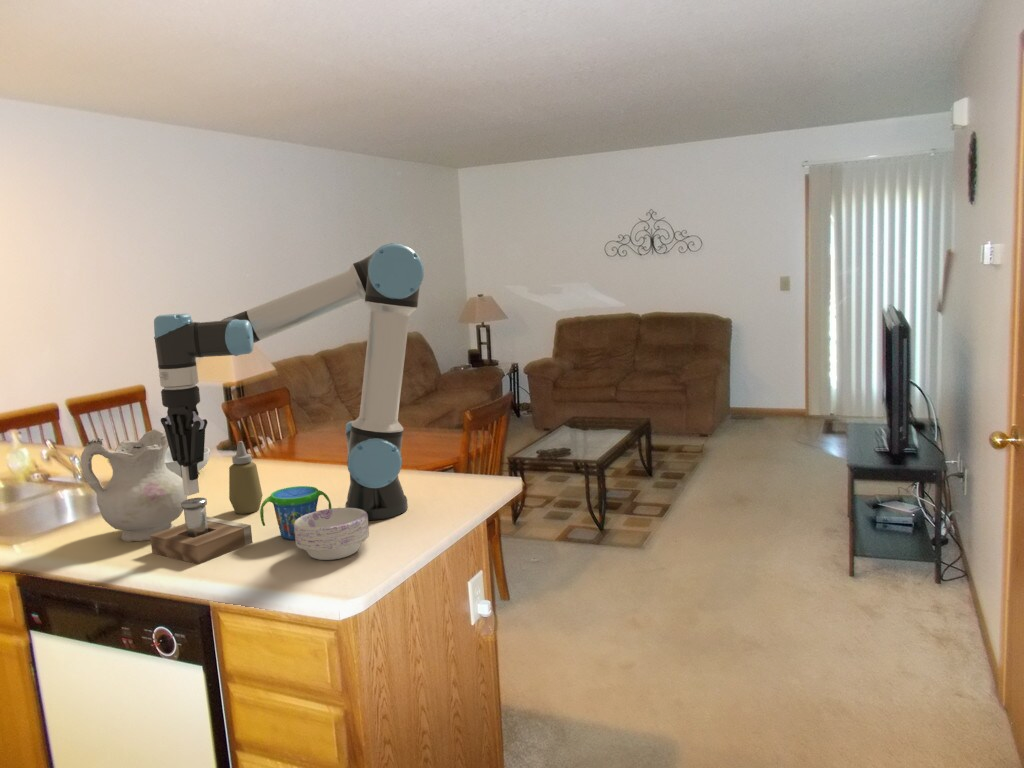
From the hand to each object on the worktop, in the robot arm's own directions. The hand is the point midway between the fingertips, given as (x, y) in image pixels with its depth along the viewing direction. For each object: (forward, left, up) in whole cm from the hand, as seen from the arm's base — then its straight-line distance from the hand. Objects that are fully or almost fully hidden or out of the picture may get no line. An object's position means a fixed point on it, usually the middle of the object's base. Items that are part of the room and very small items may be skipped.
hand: (191, 493), depth 172 cm
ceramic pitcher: (+22, -1, -13) cm, 25 cm away
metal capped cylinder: (0, 0, -13) cm, 13 cm away
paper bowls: (-30, -11, -13) cm, 35 cm away
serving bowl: (+65, -40, -13) cm, 77 cm away
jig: (0, 0, -13) cm, 13 cm away
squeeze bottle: (+13, -24, -13) cm, 30 cm away
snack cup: (-14, -16, -13) cm, 25 cm away
